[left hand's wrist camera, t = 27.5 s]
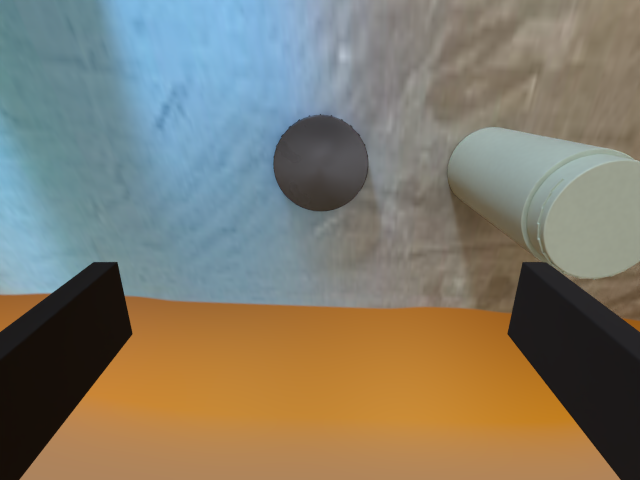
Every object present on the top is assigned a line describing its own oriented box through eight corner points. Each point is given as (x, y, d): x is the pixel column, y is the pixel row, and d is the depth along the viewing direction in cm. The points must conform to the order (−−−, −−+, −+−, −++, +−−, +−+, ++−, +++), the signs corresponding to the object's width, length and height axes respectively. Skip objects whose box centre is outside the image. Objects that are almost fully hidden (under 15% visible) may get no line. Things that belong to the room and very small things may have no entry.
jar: (435, 150, 38) (522, 192, 22) (514, 112, 37) (668, 128, 21) (461, 218, 41) (556, 302, 25) (536, 185, 40) (688, 250, 23)
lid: (319, 222, 41) (319, 230, 39) (256, 160, 39) (252, 164, 37) (384, 163, 39) (388, 167, 37) (322, 93, 36) (322, 93, 34)
